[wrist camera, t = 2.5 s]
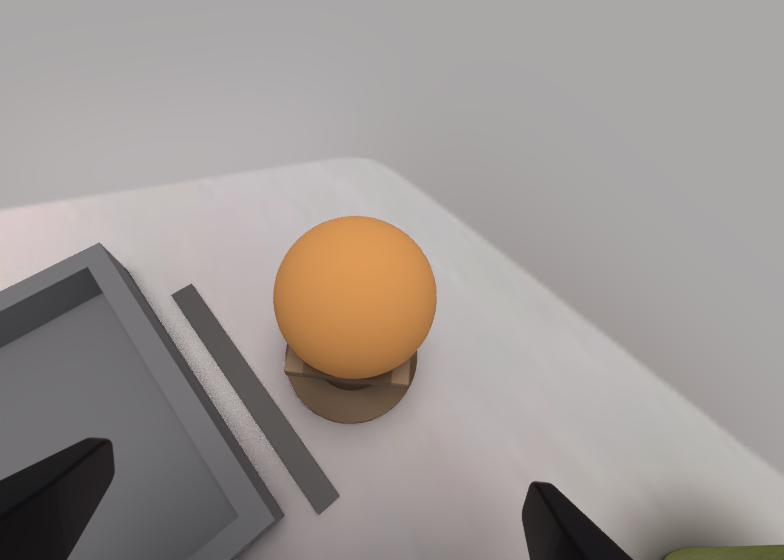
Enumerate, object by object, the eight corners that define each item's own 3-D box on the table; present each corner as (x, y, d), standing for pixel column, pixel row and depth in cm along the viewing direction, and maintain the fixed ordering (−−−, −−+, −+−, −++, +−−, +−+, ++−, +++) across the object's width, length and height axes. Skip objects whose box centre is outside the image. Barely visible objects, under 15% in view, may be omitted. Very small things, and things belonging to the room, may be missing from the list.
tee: (410, 430, 21) (432, 413, 16) (274, 415, 21) (252, 393, 16) (418, 306, 24) (438, 259, 19) (300, 292, 24) (289, 240, 19)
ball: (340, 425, 16) (339, 395, 11) (257, 313, 18) (220, 239, 12) (449, 336, 18) (492, 274, 13) (365, 243, 20) (373, 155, 15)
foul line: (318, 514, 19) (318, 514, 19) (172, 296, 23) (171, 295, 23) (339, 495, 19) (339, 496, 19) (192, 285, 23) (191, 283, 23)
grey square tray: (-144, 887, 13) (-269, 991, 10) (-242, 466, 18) (-347, 463, 15) (284, 514, 19) (274, 519, 16) (127, 270, 23) (99, 242, 21)
